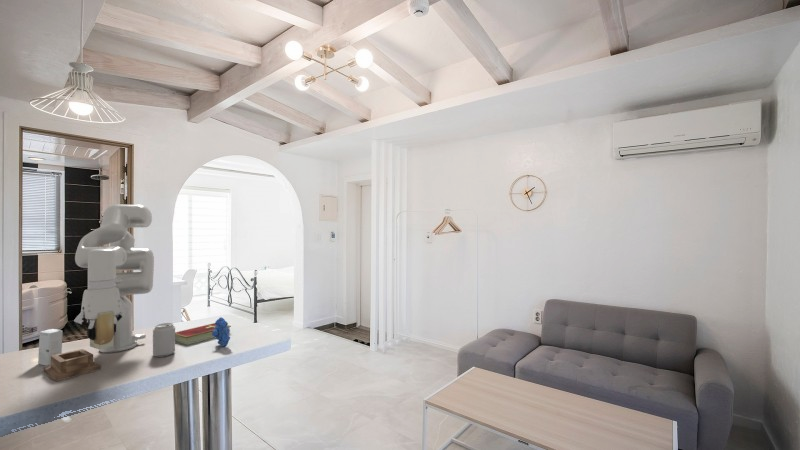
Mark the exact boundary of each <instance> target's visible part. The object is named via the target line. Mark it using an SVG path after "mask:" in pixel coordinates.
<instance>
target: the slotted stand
mask: <svg viewBox="0 0 800 450" xmlns="http://www.w3.org/2000/svg"><path fill="white" fill-rule="evenodd" d="M101 366H102V365H101V364H99V363H97V362H96V361H94V354H93V353H91V352H89V351H87V350H86V349H83V348H80V349H75V350H72V351H66V352H62V353H61V354H57V355H52V356H51V365H49V366H45V367H43V368H42V373H44V374H45V375H46V376H48V377H49V378H50V379H51V380H53V381H54V382H58V381H62V380H65V379H70V378H74V377H78V376H82V375H84V374H89V373H92V372H97V371H99V370H101Z"/></svg>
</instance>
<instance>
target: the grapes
mask: <svg viewBox="0 0 800 450" xmlns="http://www.w3.org/2000/svg"><path fill="white" fill-rule="evenodd" d="M214 323H215V325H216V327H215V329H214V331H213V332H212V335H213V336H214V338H215V340H218V341H217V343H218V345H219V346H221V347H227V346H228V344H229V341H230V339H231V336H229V334H230V333H229V332H231V328H230V329H229V328H227V325H229V322H228V321H226V319H225V318H224V317H221V316H220V317H219V318H217V319H216V320H215V322H214Z"/></svg>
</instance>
